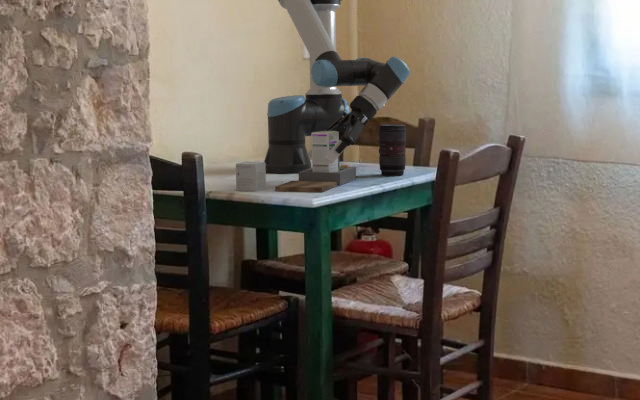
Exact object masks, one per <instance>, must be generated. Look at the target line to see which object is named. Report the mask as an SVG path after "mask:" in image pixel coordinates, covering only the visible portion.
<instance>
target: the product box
mask: <svg viewBox="0 0 640 400" xmlns="http://www.w3.org/2000/svg"><path fill="white" fill-rule="evenodd" d="M266 179H267V172H266V163H265V162H264V161H242V162H238V163H235V187H236V188H235V190H236V191H240V192H243V191H244V192H259V191H263V190H266V188H267V185H266V184H267V183H266V182H267V181H266Z"/></svg>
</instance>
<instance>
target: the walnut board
mask: <svg viewBox="0 0 640 400" xmlns="http://www.w3.org/2000/svg"><path fill="white" fill-rule="evenodd" d="M336 187H338V185H337V182H324V181H299V180H291V181H287V182H284V183H282V184H278V185H276V186H274V188H275V189H274V190H275V192H294V193H295V192H298V193H299V192H300V193H301V192H302V193H304V192H305V193H324V192H326V191H329V190H331V189H333V188H336Z"/></svg>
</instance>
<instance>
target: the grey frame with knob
mask: <svg viewBox="0 0 640 400" xmlns="http://www.w3.org/2000/svg"><path fill="white" fill-rule="evenodd" d="M339 168H340V171H338V172H312V167H311V168H309V169H306V170H303V171H300V172H298V181H324V182H337V187H338V186H343V185H345V184H347V183H349V182H352V181H354V180H356V179H357V167H356V166H350V165H349V164H340V165H339Z"/></svg>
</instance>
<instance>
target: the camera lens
mask: <svg viewBox="0 0 640 400" xmlns="http://www.w3.org/2000/svg"><path fill="white" fill-rule="evenodd" d="M406 141H407V127H406V125H405V124H380V125H379V129H378V142H379V148H378V153H379V155H378V157H379V158H378V159H379V160H378V163H379V170H380V173H381V176H384V177H397V176H403V175H405V172H404V171H405V170H406V161H407V160H406V159H407V157H406V145H407V144H406V143H407V142H406Z"/></svg>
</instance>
